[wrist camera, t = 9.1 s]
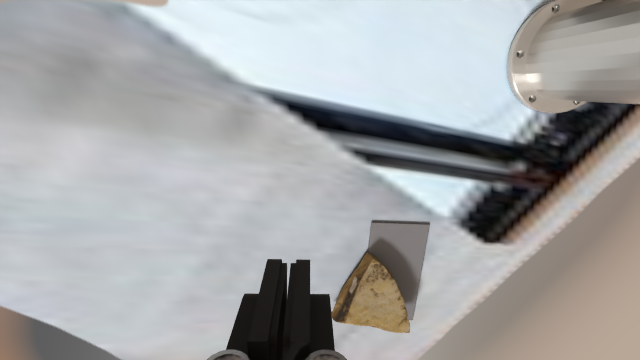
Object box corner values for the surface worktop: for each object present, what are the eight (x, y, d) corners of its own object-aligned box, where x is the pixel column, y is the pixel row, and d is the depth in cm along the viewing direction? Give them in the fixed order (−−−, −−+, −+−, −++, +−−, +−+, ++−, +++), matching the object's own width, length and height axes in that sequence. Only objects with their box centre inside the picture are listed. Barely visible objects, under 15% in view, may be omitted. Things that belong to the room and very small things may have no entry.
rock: (401, 253, 38) (399, 339, 35) (413, 260, 45) (412, 333, 42) (325, 248, 43) (317, 324, 40) (347, 255, 50) (342, 320, 47)
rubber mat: (428, 224, 41) (429, 224, 41) (411, 318, 46) (412, 320, 45) (371, 221, 41) (371, 222, 40) (360, 317, 45) (360, 319, 45)
